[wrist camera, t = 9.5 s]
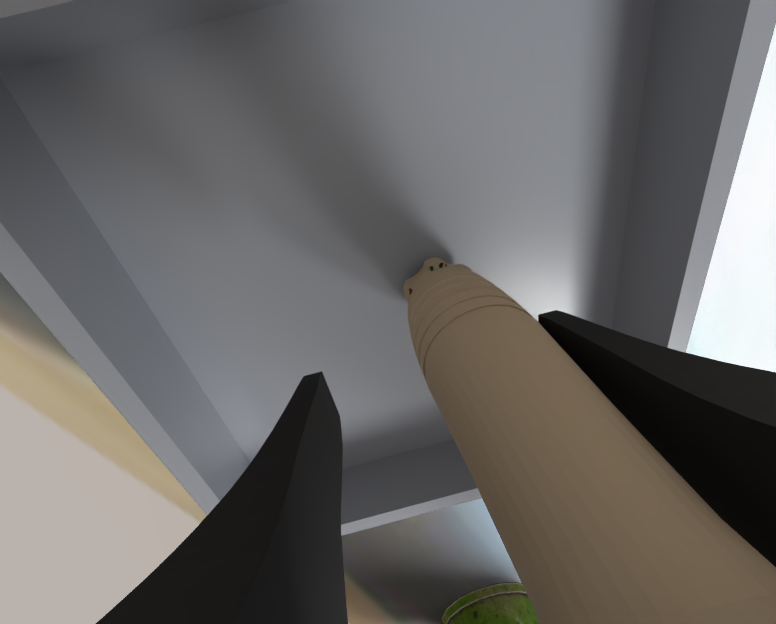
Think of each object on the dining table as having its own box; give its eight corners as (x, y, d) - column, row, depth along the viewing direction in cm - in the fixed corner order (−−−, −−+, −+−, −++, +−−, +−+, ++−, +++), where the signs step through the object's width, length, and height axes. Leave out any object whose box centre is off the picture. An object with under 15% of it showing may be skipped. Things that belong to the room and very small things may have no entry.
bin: (608, 400, 23) (658, 449, 19) (260, 493, 22) (246, 561, 19) (687, -131, 11) (850, -252, 8) (-43, 45, 11) (-228, 3, 7)
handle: (354, 259, 15) (569, 1395, 1) (497, 217, 15) (1894, 940, 2) (382, 347, 17) (560, 1085, 4) (504, 311, 17) (1090, 912, 4)
